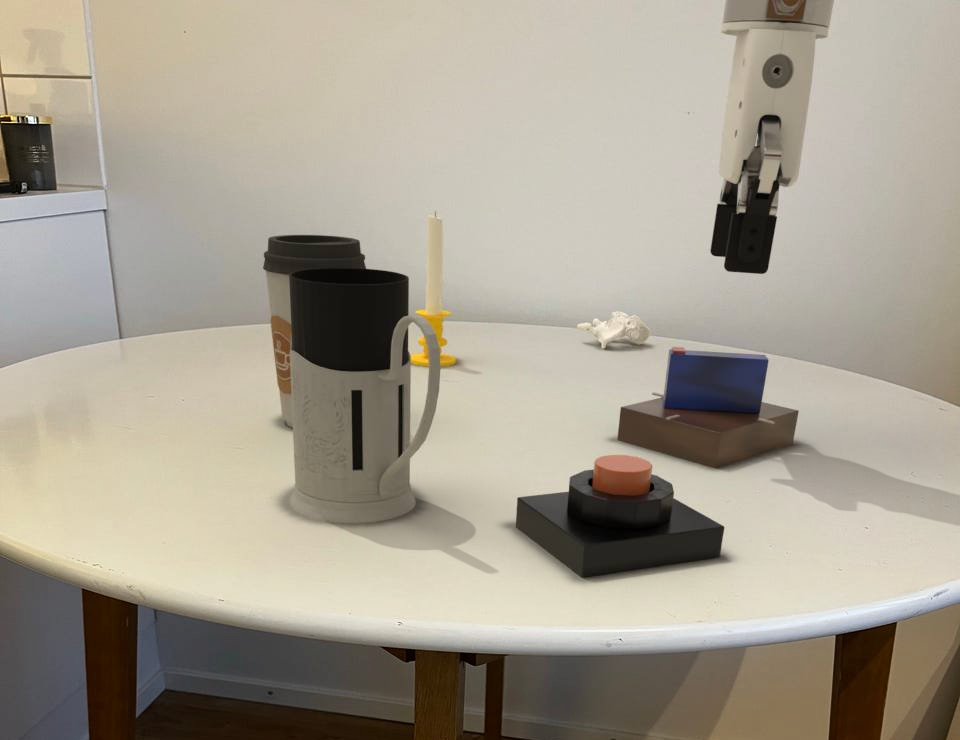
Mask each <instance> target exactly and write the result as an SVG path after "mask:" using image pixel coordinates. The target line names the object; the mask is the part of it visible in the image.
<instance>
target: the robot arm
mask: <svg viewBox="0 0 960 740" xmlns="http://www.w3.org/2000/svg"><path fill="white" fill-rule="evenodd" d="M834 2H835V0H725V2H724V10H723V17H722V23H721V30H720V33H721V34H724V35H728V36H733V37H736V39H735V44H734V51H733V56H732V62H731V69H730V70H731V71H730V76H729V83H728V89H727V95H726V103H725V111H724V119H723V126H722V134H721V142H720V152H719V161H718V162H719V163H718V173H719V175H720V176H721V177H722V178H723V181H722V186H721V190H720V194H719V203H716V211H715V215H714V224H713V230H712V237H711V244H710V249H709V251H710V254H711V255H712V256H713V257H717V258H718V257H719V258H724V263H723V267H724V269H725V271H726V272H729V273H741V274H755V275H756V274H757V275H764V274H766V273H767V272H768V270H769V265H770V260H771V255H772V249H773V243H774V237H775V231H776V225H777V219H778V216H777V212H778V209H779V193H780V187H784V188H791V186H793V185H794V184H795V183H796V182H797V181H798V179H799V173H800V167H801V159H802V152H803V146H804V138H805V132H806V126H807V119H808V111H809V105H810V104H809V103H810V97H811V90H812V82H813V74H814V64H815V55H816V54H815V53H816V40H817V39H819V40H821V39H822V40H823V39H826V38H828V35H829V28H830V24H831V20H832V14H833V8H834V4H835V3H834Z"/></svg>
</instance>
